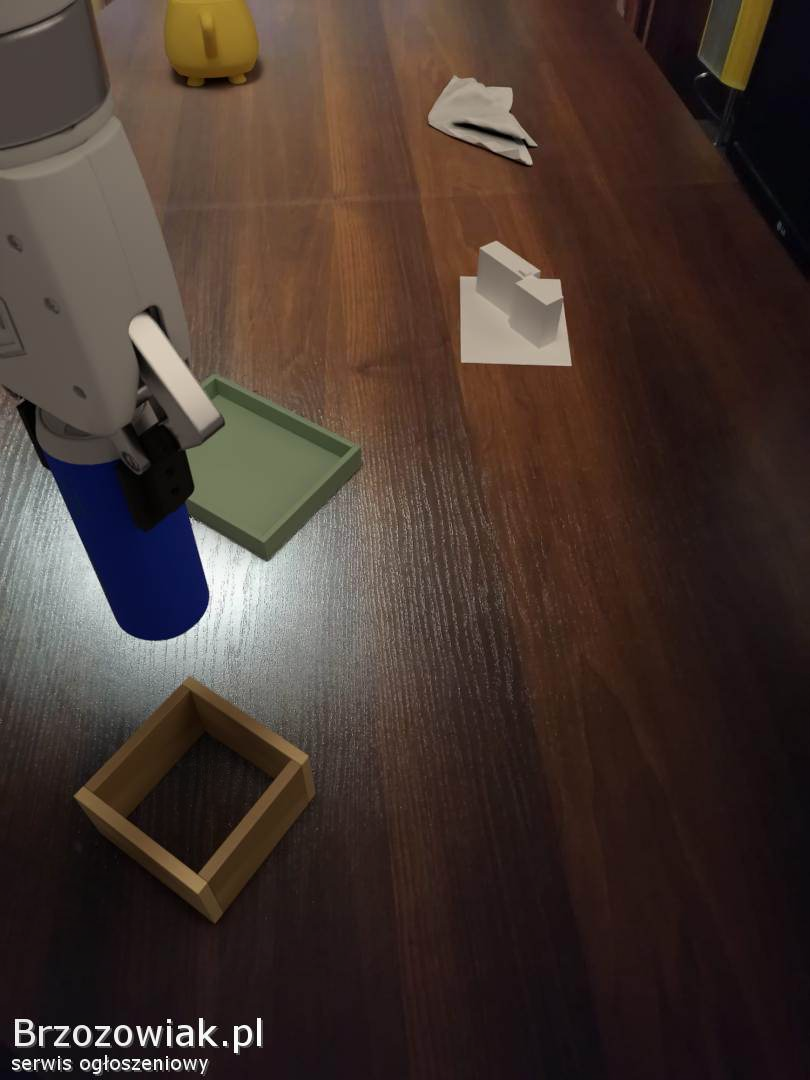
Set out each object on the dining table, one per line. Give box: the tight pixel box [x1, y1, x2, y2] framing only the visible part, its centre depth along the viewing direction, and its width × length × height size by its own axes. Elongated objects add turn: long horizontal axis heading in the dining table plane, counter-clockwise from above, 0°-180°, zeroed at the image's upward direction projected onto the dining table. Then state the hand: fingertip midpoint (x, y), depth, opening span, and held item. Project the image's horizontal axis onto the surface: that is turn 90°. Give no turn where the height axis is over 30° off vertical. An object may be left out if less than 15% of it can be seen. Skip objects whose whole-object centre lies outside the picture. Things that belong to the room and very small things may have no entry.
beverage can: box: [36, 400, 211, 642], centre depth 42 cm, size 5×5×15 cm
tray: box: [185, 372, 363, 562], centre depth 76 cm, size 17×13×2 cm
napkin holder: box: [459, 240, 573, 367], centre depth 89 cm, size 15×11×6 cm
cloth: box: [427, 74, 539, 167], centre depth 118 cm, size 26×14×2 cm, turn 6°
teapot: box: [163, 0, 260, 87], centre depth 123 cm, size 13×20×12 cm
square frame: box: [73, 675, 316, 925], centre depth 55 cm, size 10×10×6 cm
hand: (118, 478), depth 39 cm, fingers closed on beverage can, 5 cm apart
